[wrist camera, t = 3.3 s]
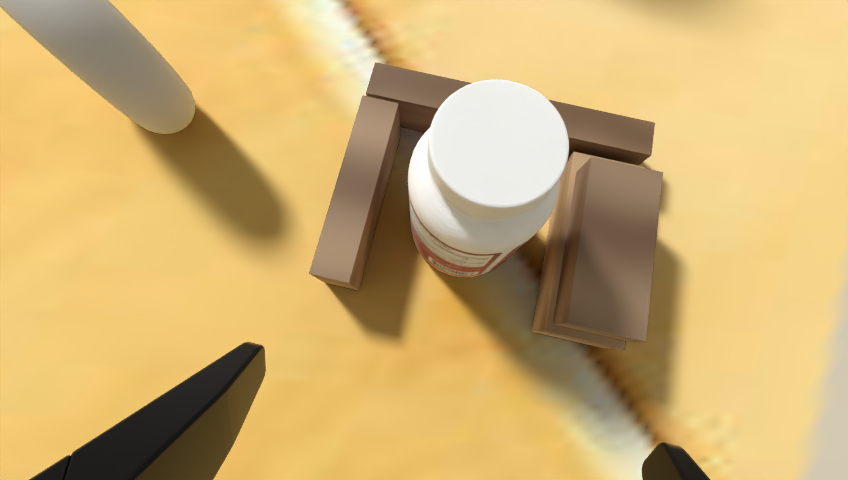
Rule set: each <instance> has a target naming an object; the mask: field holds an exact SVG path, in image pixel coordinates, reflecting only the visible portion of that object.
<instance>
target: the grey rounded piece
mask: <svg viewBox="0 0 848 480" xmlns="http://www.w3.org/2000/svg"><path fill="white" fill-rule="evenodd" d="M0 7H1V8H2V9H3V10H4V11H5V12H6V13H7V14H8V15H9V16H10V17H11V18H12V19H14V20H15V21H16V22H17V23H18V24H19V25H20V26H21V27H22V28H23V29H24V30H25V31H27V32H28V33H29V34H30V35H31V36H32V37H33V38H34V39H35V40H37V41H38V42H39V43H40V44H41V45H42V46H43V47H44V48H46V49H47V50H48V51H49V52H50V53H51V54H52V55H53V56H55V57H56V58H57V59H58V60H59V61H60V62H62V63H63V64H64V65H65V66H66V67H67V68H69V69H70V70H71V71H72V72H73V73H74V74H75V75H77V76H78V77H79V78H80V79H81V80H83V81H84V82H85V83H86V84H87V85H89V86H90V87H91V88H92V89H93V90H94V91H96V92H97V93H98V94H99V95H100V96H102V97H103V98H104V99H105V100H107V101H108V102H109V103H110V104H112V105H113V106H114V107H115V108H116V109H118V110H119V111H120V112H122V113H123V114H124V115H126V116H127V117H128V118H129V119H131V120H132V121H134V122H135V123H137V124H138V125H140V126H141V127H143V128H144V129H146V130H149V131H152V132H155V133H160V134H171V133H175V132H179V131H181V130H182V129H184V128H186V127H187V126H188V125H189V123H190V122H191V121H192V120H193V117H194V114H195V100H194V98H193V95H192V93H191V91H190V89H189V88H188V86H187V85H186V84H185V82H184V81H183V80H182V78H181V77H180V76H179V75H178V74H177V72H176V71H175V70H174V69H173V68H172V66H171V65H170V64H169V63H168V62H167V61H166V60H165V59H164V58H163V56H162V55H161V54H160V53H159V52H158V51H157V50H156V49H155V48H154V47H153V46H152V45H151V43H150V42H149V41H148V40H147V39H146V38H145V37H144V36H143V35H142V34H141V33H140V32H139V31H138V30H137V29H136V28H135V27H134V26H133V25H132V24H131V23H130V22H129V21H128V20H127V19H126V18H125V17H124V16H123V15H122V14H121V13H120V11H119V10H118V9H117V8H116V7H114V6H113V5H112V4H111V3H110V2H109V1H108V0H0Z"/></svg>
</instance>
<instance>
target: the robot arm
mask: <svg viewBox="0 0 848 480" xmlns="http://www.w3.org/2000/svg"><path fill="white" fill-rule="evenodd" d="M265 371H266V366H265V349H264V347H263V346H262V345H259V344H255V343H251V342H245V343H243V344H241V345H240V346H238V347H236V348H235V349H233V350H232V351H230V352H229V353H227V354H225V355H224V356H222V357H221V358H219V359H218V360H216V361H215V362H213V363H211V364H210V365H208V366H207V367H205V368H204V369H202V370H200V371H199V372H197V373H196V374H194V375H193V376H191V377H190V378H188V379H186V380H185V381H183V382H182V383H180V384H179V385H177V386H175V387H174V388H172V389H171V390H169V391H168V392H166V393H165V394H163V395H161V396H160V397H158V398H157V399H155V400H154V401H152V402H150V403H149V404H147V405H146V406H144V407H143V408H141V409H140V410H138V411H136V412H135V413H133V414H132V415H130V416H129V417H127V418H125V419H124V420H122V421H121V422H119V423H118V424H116V425H115V426H113V427H111V428H110V429H108V430H107V431H105V432H104V433H102V434H100V435H99V436H97V437H96V438H94V439H93V440H91V441H90V442H88V443H86V444H85V445H83V446H82V447H80V448H79V449H77V450H75V451H74V452H73V453H72V455H71V456H70V455H68V456H66V457H64V458H63V459H61V460H60V461H58V462H56V463H55V464H53V465H52V466H50V467H49V468H47V469H45V470H44V471H42V472H41V473H39V474H37V475H36V476H34V477H33V478H31V479H29V480H213V479H214V477H215V475H216V474H217V472H218V470H219V469H220V467H221V465H222V464H223V462H224V460H225V458H226V457H227V455H228V453H229V451H230V450H231V448H232V446H233V444H234V442H235V440H236V438H237V436H238V434H239V432H240V429H241V427H242V425H243V423H244V421H245V418H246V416H247V414H248V412H249V410H250V407H251V405H252V403H253V401H254V399H255V396H256V394H257V392H258V390H259V388H260V385H261V383H262V381H263V379H264V376H265ZM642 478H643V480H710V479H709V478H708V477H707V475H706V474H705V473H704V472H703V471H702V470H701V468H700V467H699V466H698V465H697V464H696V463H695V461H694V460H693V459H692V458H691V457H690V456H689V454H688V453H687V452H686V451H685V450H684V449H683V448H681V447H679V446H676V445H672V444H668V443H660V444H658V445H657V446H656V448H655V449H654V450H653V451H652V452H651V454H650V455H649V456H648V457H647V458H646V459H645V461H644V463H643V466H642Z"/></svg>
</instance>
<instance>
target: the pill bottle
mask: <svg viewBox="0 0 848 480" xmlns="http://www.w3.org/2000/svg"><path fill="white" fill-rule="evenodd" d="M568 155H569V139H568V133H567V130H566V126H565V124H564V121H563V119H562V117H561V115H560V114H559V112H558V111H557V110H556V108H555V107H554V106H553V105H552V104H551V103H550V101H549V100H548V99H546V98H545V97H544V96H543V95H541V94H540V93H539V92H537V91H535V90H534V89H532V88H530V87H528V86H526V85H523V84H520V83H516V82H512V81H507V80H496V79H494V80H483V81H478V82H475V83H472V84H469V85H466V86H465V87H463V88H461V89H459V90H457V91H456V92H454V93H453V94H452V95H450V96H449V97H448V98H447V99H446V100H445V101H444V102H443V103H442V105H441V106H440V108H439V109H438V111H437V112H436V114H435V116H434V118H433V121H432V124H431V127H430V128H429V129H428V130H427V131H426V132H425V133H424V135H423V136H422V137H421V139H420V140H419V141H418V143H417V145H416V147H415V149H414V151H413V154H412V157H411V160H410V164H409V171H408V192H409V204H410V219H411V230H412V235H413V239H414V242H415V244H416V247H417V249H418V251H419V252H420V254H421V255H422V256H423V258H424V259H425V260H426V261H427V262H428V263H429V264H430V265H432V266H433V267H434V268H436V269H437V270H439V271H441V272H443V273H446V274H448V275H451V276H456V277H475V276H479V275H482V274H485V273H487V272H490V271H491V270H493V269H495V268H497V267H498V266H499V265H500V264H502V263H503V262H504V261H505V260H506V259H507V258H508V257H509V256H511V255H512V254H513V253H514V252H515V251H516V250H517V249H519V248H520V247H521V246H522V245H523V244H525V243H526V242H527V241H528V240H529V239H531V238H532V237H533V236H534V235H535V234H536V233H537V232H538V231H539V229H540V228H541V227H542V226H543V225H544V224H545V222H546V221H547V220H548V218H549V216H550V215H551V213H552V211H553V209H554V207H555V204H556V201H557V198H558V194H559V187H560V178H561V176H562V174H563V172H564V170H565V167H566V164H567V160H568Z"/></svg>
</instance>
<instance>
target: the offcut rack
mask: <svg viewBox="0 0 848 480" xmlns="http://www.w3.org/2000/svg"><path fill="white" fill-rule="evenodd" d="M469 84H472V83H468V82H464V81H459V80H454V79H450V78H445V77H440V76H436V75H431V74H427V73H422V72H417V71H413V70H408V69H403V68H399V67H394V66H390V65H385V64H380V63H376V62H375V65H374V68H373V72H372V75H371V78H370V82H369V85H368V88H367V92H366V95H367V96H362V99H361V103H360V106H359V109H358V113H357V116H356V119H355V122H354V126H353V129H352V132H351V136H350V139H349V142H348V146H347V149H346V152H345V156H344V159H343V162H342V166H341V169H340V172H339V176H338V179H337V182H336V186H335V189H334V192H333V195H332V199H331V202H330V205H329V209H328V212H327V215H326V219H325V222H324V225H323V229H322V232H321V235H320V239H319V242H318V245H317V249H316V252H315V255H314V259H313V262H312V265H311V268H310V272H309V274H311V275H313V276H314V277H316V278H318V279H319V280H321V281H323V282H325V283H328V284H333V285H337V286H341V287H345V288H350V289H354V290H358V291H359V288H360V284H361V281H362V277H363V273H364V269H365V266H366V262H367V258H368V255H369V251H370V247H371V243H372V240H373V236H374V232H375V229H376V225H377V221H378V217H379V214H380V210H381V206H382V203H383V199H384V195H385V192H386V188H387V184H388V180H389V177H390V173H391V169H392V166H393V162H394V158H395V154H396V151H397V147H398V143H399V140H400V136H401V130H400V127H403V128H407V129H412V130H416V131H421V132H426V131H427V130H428V129H429V128H430V127H431V124H432V121H433V118H434V116H435V114H436V112H437V111H438V109H439V108H440V106H441V105H442V103H443V102H444V101H445V100H446V99H447V98H448V97H449V96H450V95H452V94H453V93H454V92H456V91H457V90H459V89H461V88H463V87H465V86H466V85H469ZM549 101H550V103H551V104H552V105H553V106H554V107H555V108H556V110H557V111H558V112H559V114H560V115H561V117H562V119H563V121H564V124H565V126H566V130H567V133H568V139H569V155H568V160H567V164H566V167H565V170H564V172H563V174H562V176H561V178H560V187H559V194H558V198H557V201H556V204H555V207H554V209H553V211H552V213H551V218H550V224H549V230H548V236H547V242H546V248H545V254H544V260H543V266H542V272H541V278H540V284H539V290H538V297H537V303H536V309H535V315H534V321H533V327H532V332H536V333H540V334H544V335H549V336H553V337H557V338H561V339H566V340H570V341H574V342H578V343H582V344H587V345H591V346H595V347H599V348H607V349H622V350H625V344H626V341H638V342H646V336H647V326H648V316H649V306H650V296H651V286H652V276H653V266H654V256H655V246H656V236H657V226H658V216H659V207H660V197H661V187H662V177H663V172H659V171H654V170H650V169H645V167H642V166H638V165H639V164H640V163H642V162H643V161H644V160H646V159H647V158H648V157H650V156H651V153H652V144H653V135H654V126H655V123H653V122H649V121H644V120H639V119H635V118H630V117H626V116H621V115H616V114H612V113H607V112H602V111H598V110H593V109H589V108H584V107H579V106H575V105H570V104H565V103H561V102H556V101H552V100H549Z"/></svg>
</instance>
